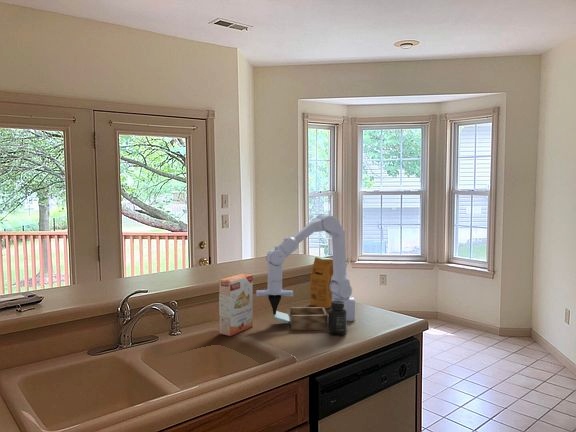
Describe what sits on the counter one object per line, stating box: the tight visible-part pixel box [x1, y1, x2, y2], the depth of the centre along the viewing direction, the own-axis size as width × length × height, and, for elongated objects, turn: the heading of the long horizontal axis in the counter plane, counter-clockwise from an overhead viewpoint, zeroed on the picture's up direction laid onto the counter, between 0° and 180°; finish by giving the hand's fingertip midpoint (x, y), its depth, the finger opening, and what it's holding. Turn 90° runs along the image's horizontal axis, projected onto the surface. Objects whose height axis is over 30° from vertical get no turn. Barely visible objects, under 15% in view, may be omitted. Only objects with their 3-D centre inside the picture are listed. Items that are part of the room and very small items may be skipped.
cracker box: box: [218, 273, 254, 337], centre depth 183 cm, size 14×6×21 cm, turn 148°
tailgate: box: [273, 310, 291, 324], centre depth 190 cm, size 1×9×6 cm
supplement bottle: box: [327, 301, 348, 337], centre depth 180 cm, size 7×7×12 cm
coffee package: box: [308, 256, 333, 310], centre depth 219 cm, size 10×12×22 cm
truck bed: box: [289, 306, 328, 331], centre depth 191 cm, size 14×12×6 cm
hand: (274, 313), depth 190 cm, fingers closed, pressing on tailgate
